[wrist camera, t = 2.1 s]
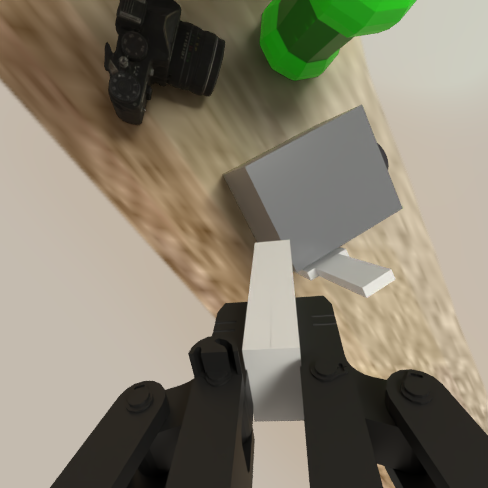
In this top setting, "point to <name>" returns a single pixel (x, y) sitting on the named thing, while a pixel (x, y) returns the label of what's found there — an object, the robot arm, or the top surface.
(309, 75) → the plastic bottle
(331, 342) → the robot arm
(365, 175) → the housing
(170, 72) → the camera
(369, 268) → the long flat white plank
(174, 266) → the top surface
